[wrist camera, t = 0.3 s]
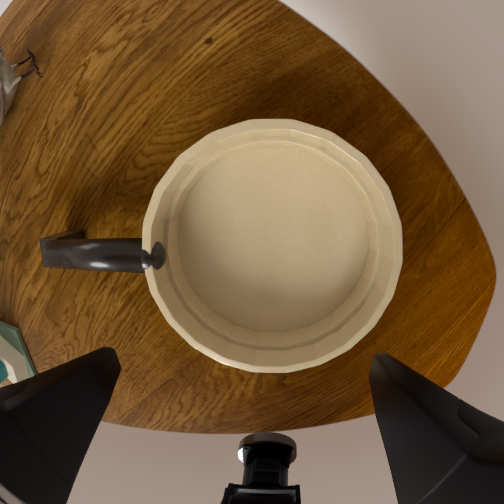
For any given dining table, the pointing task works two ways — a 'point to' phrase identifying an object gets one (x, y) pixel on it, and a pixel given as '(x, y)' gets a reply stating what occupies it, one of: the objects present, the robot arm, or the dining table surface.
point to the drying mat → (17, 344)
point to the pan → (273, 245)
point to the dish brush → (12, 363)
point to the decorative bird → (10, 82)
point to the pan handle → (99, 253)
